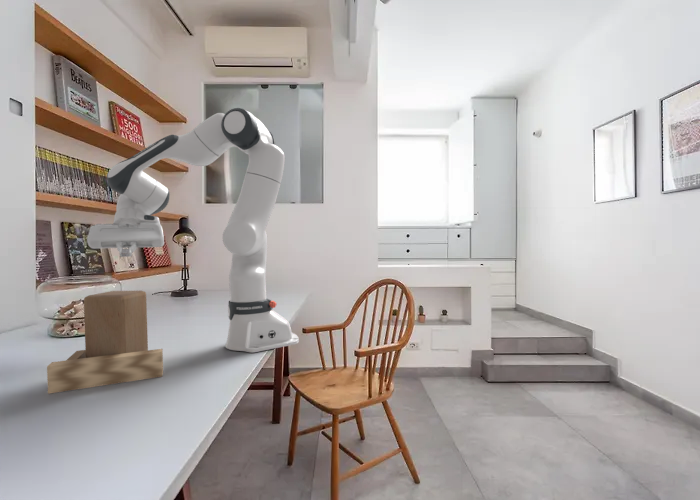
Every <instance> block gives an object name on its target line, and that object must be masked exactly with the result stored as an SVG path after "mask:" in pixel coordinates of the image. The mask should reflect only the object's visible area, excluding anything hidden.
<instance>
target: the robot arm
mask: <svg viewBox="0 0 700 500" xmlns="http://www.w3.org/2000/svg"><path fill="white" fill-rule="evenodd" d="M231 148H238V150H239V151H240V152H242V153H244V154H246V155H248V164H247V167H246V170H245V171H246V172H245V175H244V178H243V182H242V185H241V189H240V193H239V195H238V198H237V200H236V203H235V206H234V208H233V210H232V211H231V212H232V213H231V214H230V217H229V218H228V219H229V220H228V221H227V223H226V224H227V225H226V227H225V228H224V230H223V233H222V243H223V245H224V247H225V249H226V250H227V251H228V252H229V253H231V255H232V256H231V265H230V271H229V275H228V276H229V277H228V279H229V280H228V281H229V283H228V284H229V300H228V304H227V311H228V312H227V316H228V319H229V324H228V326H229V327H228V334H227V338H226V343H225V349H227V350H230V351H238V352H239V351H240V352H246V353H257V352H262V351H269V350H272V349H278V348H283V347H289V346H294V345H297V344H299V342H300V340H299V338H300V337H299V336H298V335H297V334H296V333H295V332H292V328H291V325H290V322H289V321H288V320H287V319H286V318H285V317H284V316H282V315H281V314H279V313H278V312H276V311H275V310H274V308H276V307H277V302H276V301H275V300H272V299H269V298H267V260H268V235H267V231H266V229H267V226H268V223H269V221H270V218H271V216H272V214H273V211H274V209H275V205H276V202H277V198H278V194H279V191H280V187H281V184H282V180H283V175H284V172H285V171H284V170H285V159H286V157H285V153H284V151H283V150H282V149H281V148H280V147H279V146H278V145H276V141H275V138H274V135H273V133H272V131H270V130H269V129H268V128H267V127H266V125H264V123H263V122H262V121H261V120H260V119H259V118H257V117H256V116H255V115H254V114H253V113H252V112H250V111H249V110H246V109H244V108H240V107H236V108H234V107H233V108H230V109H229V110H228V111H227V112H226V113H223V112H217V113H215V114H213V115H210V116H209V117H208V118H206V119H204V120H203V121H202V122H200V123H199V124H198V125H197V126H196V127H194V128H193V129H192V130H191V131H189V132H187V133H184V134H179V135H176V134H170V135H167V136H165V137H163V138H161V139H159V140H157V141H155V142H154V143H152V144H150V145H148V146H147V147H145V148H144V149H142V150H141V151H139V152H138V153H135V154H134V155H132V156H131V157H130V156H129V157H128V158H127V159H124V160H122V161H120V162H118V163H116V164H115V165H113V166H112V167H111V168H110V169H109V171H108V172H107V174H106V180H107V185H109V187H110V189H111V190H113V191H114V192H116V193H118V194H119V195H118V196H119V197H118V199H117V203H116V209H115V210H116V211H115V214H114V218H113V222H112V223H96V224H95V225H90V227H89V230H88V234H87V237H86V243H87V245H88V247H90V249H95V250H97V249H116V250H117V252H119V253H118V254H119V257H122V258H123V257H124V258H126V257H132V255H133V253H134V252H135V251H136V250H137V249H138V248H162V247H163V246H165V236H164V231H163V226H162V225H161V222H160V218H159V217H158V216H156V214H158V213H160V212H161V211H163V210H164V209H165V208H166V207H167V206H168V205H169V202H170V195H171V194H170V191H169V190H170V189H169V188H168V187H167V186H165V185H164V184H162V183H161V182H160V181H158V180H157V179H155V178H154V177H152V176H150V175H149V174H147V173H146V172H144V170H146V169H147V168H149V167H151V166H152V165H154V164H156V163H157V162H158V161H161V160H163V159H173V160H177V161H180V162H183V163H185V164H188V165H191V166H194V167H207V166H208V165H211V164H213V163H215V161H216V160H217V159H219V158H220V157H221V156H222V155H224V153H225V152H227V150H229V149H231Z"/></svg>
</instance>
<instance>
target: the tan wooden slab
mask: <svg viewBox="0 0 700 500" xmlns="http://www.w3.org/2000/svg"><path fill="white" fill-rule="evenodd" d="M163 351H164V350H163V348H158V349H148V350H147V351H139V352H131V353H123V354H115V355H107V356H99V357H90V358H86V349H82V350H81V349H80V350H76V351H75V352H74V353H73V354H72V355H70V356H69V357H68V358H67V359H66V360H60V361H51V362H50V363H49V364H48V365H47V366H46V377H47V394H49V395H50V394H56V393H61V392H67V391H74V390H75V391H76V390H83V389H89V388H94V387H95V388H96V387H102V386H109V385H116V384H122V383H129V382H135V381H136V382H137V381H141V380H147V379H155V378H162V377H163V376H164V375H163V374H164V356H163V355H164V354H163Z"/></svg>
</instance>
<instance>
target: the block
mask: <svg viewBox="0 0 700 500" xmlns="http://www.w3.org/2000/svg"><path fill="white" fill-rule="evenodd" d="M147 311H148V308H147V292H146V291H144V290H110V291H105V292H100V293H96V294H95V293H94V294H90V295H86V296H85V297H84V299H83V317H84V342H85V343H84V345H85V347H84V350H86V358H90V357H99V356H107V355H115V354H123V353H131V352H139V351H147V350H149V344H148V343H149V340H148V336H149V335H148V317H147V316H148V313H147Z"/></svg>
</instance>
